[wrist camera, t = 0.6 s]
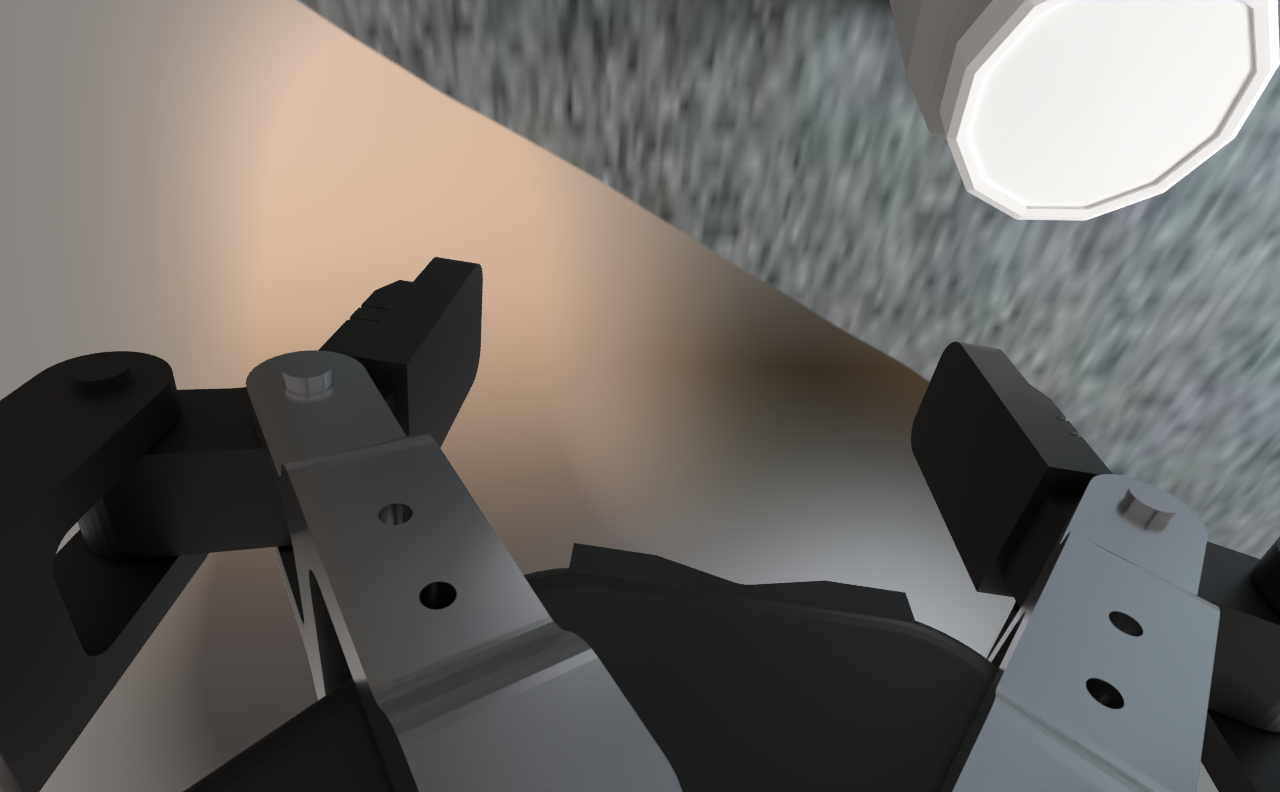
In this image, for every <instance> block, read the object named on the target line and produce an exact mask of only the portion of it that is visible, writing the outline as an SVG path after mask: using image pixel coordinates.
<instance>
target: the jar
mask: <svg viewBox="0 0 1280 792" xmlns="http://www.w3.org/2000/svg"><path fill="white" fill-rule="evenodd" d="M889 2H890V6H891V10H892V14H893V19H894V23H895V27H896V31H897V36H898V40H899V44H900V48H901V53H902V57H903V61H904V65H905V70H906V74H907V77H908V79H909V82H910V84H911V87H912V89H913V92H914V94H915V97H916V99H917V102H918V104H919V107H920V109H921V112H922V114H923V117H924V120H925V122H926V125H927V127H928V130H929V132H931V133H933V134H934V135H936V136H938V137H939V138H941V139H943V140H944V141H946V142H948V144H949V146H950V149H951V152H952V154H953V157H954V159H955V162H956V165H957V167H958V170H959V173H960V175H961V178H962V180H963V183H964V186H965V188H966V191H967V192H969V193H971V194H973V195H974V196H976V197H978V198H980V199H981V200H983V201H985V202H987V203H988V204H990V205H992V206H994V207H995V208H997V209H999V210H1001V211H1002V212H1004V213H1006V214H1008V215H1009V216H1011V217H1013V218H1015V219H1019V220H1088V219H1091V218H1094V217H1097V216H1100V215H1103V214H1105V213H1108V212H1111V211H1114V210H1117V209H1119V208H1122V207H1125V206H1128V205H1131V204H1133V203H1136V202H1139V201H1142V200H1145V199H1147V198H1150V197H1153V196H1156V195H1159V194H1161V193H1164V192H1165V191H1166V190H1168V189H1169V188H1170V187H1172V186H1173V185H1174V184H1175V183H1177V182H1178V181H1179V180H1181V179H1182V178H1183V177H1185V176H1186V175H1187V174H1188V173H1190V172H1191V171H1192V170H1194V169H1195V168H1196V167H1198V166H1199V165H1200V164H1201V163H1203V162H1204V161H1205V160H1207V159H1208V158H1209V157H1211V156H1212V155H1213V154H1214V153H1216V152H1217V151H1218V150H1220V149H1221V148H1222V147H1224V146H1225V145H1226V144H1227V143H1229V142H1230V141H1231V140H1233V139H1234V138H1235V137H1236V135H1237V133H1238V132H1239V130H1240V128H1241V127H1242V125H1243V123H1244V122H1245V120H1246V119H1247V117H1248V115H1249V114H1250V112H1251V110H1252V109H1253V107H1254V105H1255V104H1256V102H1257V100H1258V99H1259V97H1260V96H1261V94H1262V92H1263V91H1264V89H1265V87H1266V86H1267V84H1268V82H1269V81H1270V79H1271V78H1272V76H1273V74H1274V73H1275V71H1276V69H1277V68H1278V66H1279V64H1280V58H1279V27H1278V0H889Z"/></svg>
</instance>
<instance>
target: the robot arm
mask: <svg viewBox="0 0 1280 792" xmlns="http://www.w3.org/2000/svg"><path fill="white" fill-rule="evenodd" d="M482 276H483V275H482V268H481V265H480V264H476V263H470V262H463V261H457V260H451V259H445V258H439V257H435V258H434V259H432V261H431V262H430V263H429V264H428V265H427V266H426V268H425V269H424V270H423V271H422V273H420V275H419V276H418V277H417V278H416V279H415V281H414V282H409V281H402V280H399V281H396V282H394V283H392V284H389V285H387V286H384V287H382V288H380V289H377V290H375V291H374V292H373V293H372V294H371V295H370V297H369V298H368V299H367V300H366V301H365V302H364V303H363V304H362V306H361V308H358V309H357V310H356V311H355V312H354V313H353V314H352V316H351V317H350V320H347V321H346V322H345V323H344V324H343V325H342V326H341V327H340V328H339V329H338V330H337V331H336V332H335V333H334V334H333V335H332V336H331V338H330V339H329V340H328V341H327V342H326V343H325V344H324V345H323V346H322V347H321V348H320V349H319V350H318V351H299V352H292V353H287V354H283V355H280V356H276V357H273V358H271V359H268V360H266V361H264V362H263V363H261V364H259V365H258V366H256V367H255V368H254V369H253V370H252V371H251V372H250V373H249V375H248V377H247V379H246V387H244V388H231V389H195V390H177V389H176V385H175V381H174V376H173V372H172V369H171V367H170V365H169V364H168V363H167V362H166V361H164V360H163V359H161V358H159V357H156V356H153V355H150V354H145V353H139V352H128V351H121V352H120V351H117V352H102V353H95V354H89V355H84V356H80V357H76V358H73V359H69V360H66V361H64V362H61V363H58V364H56V365H53V366H51V367H49V368H47V369H46V370H44V371H42V372H41V373H39V374H38V375H36V376H35V377H33V378H32V379H30V380H29V381H28V382H26V383H25V384H23V385H22V386H21V387H19V388H18V389H16V390H15V391H13V392H12V393H11V394H9V395H8V396H6V397H5V398H3V399H2V400H1V401H0V792H39V791H40V790H41V789H42V787H43V786H44V784H45V783H46V782H47V780H48V779H49V777H50V776H51V774H52V773H53V772H54V770H55V769H56V767H57V766H58V765H59V763H60V762H61V760H62V759H63V758H64V756H65V755H66V754H67V752H68V751H69V749H70V748H71V746H72V745H73V744H74V742H75V741H76V739H77V738H78V737H79V735H80V734H81V733H82V731H83V730H84V728H85V727H86V725H87V724H88V723H89V721H90V720H91V718H92V717H93V716H94V714H95V713H96V711H97V710H98V709H99V707H100V706H101V704H102V703H103V701H104V700H105V699H106V697H107V696H108V695H109V693H110V692H111V690H112V689H113V688H114V686H115V685H116V683H117V682H118V681H119V679H120V678H121V676H122V675H123V674H124V672H125V671H126V669H127V668H128V667H129V665H130V664H131V662H132V661H133V660H134V658H135V656H136V655H137V654H138V653H139V651H140V650H141V648H142V647H143V645H144V644H145V643H146V641H147V640H148V639H149V637H150V636H151V634H152V633H153V632H154V630H155V629H156V627H157V626H158V625H159V623H160V622H161V620H162V619H163V617H164V616H165V614H166V613H167V612H168V610H169V609H170V608H171V606H172V605H173V603H174V602H175V601H176V599H177V598H178V597H179V595H180V594H181V592H182V591H183V589H184V588H185V587H186V585H187V584H188V582H189V581H190V580H191V578H192V577H193V575H194V574H195V573H196V571H197V570H198V568H199V567H200V566H201V564H202V563H203V561H204V560H205V559H206V557H207V555H208V554H209V553H210V552H221V551H233V550H243V549H255V548H266V547H274V548H275V554H276V557H277V560H278V563H279V566H280V570H281V572H282V576H283V579H284V582H285V585H286V588H287V591H288V594H289V598H290V601H291V604H292V607H293V610H294V613H295V616H296V619H297V622H298V626H299V628H300V632H301V635H302V638H303V641H304V644H305V648H306V651H307V654H308V658H309V662H310V666H311V670H312V675H313V680H314V684H315V688H316V693H317V697H318V701H317V702H315V703H314V704H312V705H311V706H309V707H308V708H306V709H305V710H303V711H302V712H300V713H299V714H297V715H296V716H295V717H293V718H291V719H290V720H289V721H287V722H286V723H284V724H283V725H281V726H280V727H278V728H277V729H275V730H274V731H272V732H271V733H269V734H268V735H266V736H265V737H264V738H262V739H260V740H259V741H257V742H256V743H254V744H253V745H251V746H250V747H248V748H247V749H246V750H244V751H243V752H241V753H240V754H238V755H237V756H235V757H234V758H232V759H231V760H229V761H228V762H226V763H225V764H223V765H222V766H220V767H219V768H217V769H216V770H214V771H213V772H211V773H210V774H208V775H207V776H205V777H204V778H203V779H201V780H199V781H198V782H197V783H195V784H194V785H192V786H191V787H189V788H188V789H186V790H185V791H183V792H1197V784H1198V777H1199V769H1200V762H1202V764H1203V765H1204V767H1205V769H1206V770H1207V772H1208V774H1209V776H1210V777H1211V779H1212V781H1213V782H1214V784H1215V786H1216V788H1217V789H1218V791H1219V792H1280V537H1279V538H1278V540H1277V541H1276V542H1275V543H1274V544H1273V545H1272V547H1271V548H1270V549H1269V550H1268V551H1267V552H1266V554H1265V555H1264V556H1263V557H1262V558H1261V560H1260V559H1258V558H1255V557H1252V556H1249V555H1246V554H1243V553H1240V552H1237V551H1234V550H1231V549H1228V548H1225V547H1222V546H1219V545H1216V544H1213V543H1210V542H1207V538H1208V531H1207V528H1206V526H1205V524H1204V523H1203V521H1202V520H1201V519H1200V517H1199V516H1198V515H1197V514H1196V513H1195V512H1194V511H1193V510H1192V509H1190V508H1189V507H1188V506H1187V505H1185V504H1184V503H1183V502H1181V501H1180V500H1178V499H1177V498H1175V497H1174V496H1172V495H1171V494H1169V493H1167V492H1165V491H1163V490H1161V489H1159V488H1157V487H1155V486H1153V485H1151V484H1148V483H1146V482H1143V481H1140V480H1137V479H1134V478H1131V477H1127V476H1122V475H1115V474H1112V473H1111V471H1110V470H1109V469H1108V468H1107V467H1106V465H1105V464H1104V463H1103V462H1102V461H1101V459H1100V458H1099V457H1098V456H1097V455H1096V453H1095V452H1094V451H1093V450H1092V449H1091V447H1090V446H1089V445H1088V444H1087V443H1086V441H1085V440H1084V439H1083V438H1082V437H1079V436H1078V432H1077V430H1076V429H1075V428H1074V427H1073V426H1072V424H1071V423H1070V422H1069V421H1065V418H1066V417H1065V416H1064V415H1063V414H1062V412H1061V411H1060V410H1059V409H1058V408H1057V406H1056V405H1055V404H1054V403H1053V402H1052V400H1051V399H1050V398H1048V397H1047V396H1045V395H1044V394H1043V393H1041V392H1040V391H1038V390H1037V389H1036V388H1034V387H1033V386H1031V385H1030V384H1029V383H1028V382H1027V381H1026V380H1025V378H1024V377H1023V376H1022V375H1021V373H1020V372H1019V371H1018V370H1017V369H1016V367H1015V366H1014V365H1013V364H1012V362H1011V361H1010V360H1009V359H1008V357H1007V356H1006V355H1005V354H1004V352H1003V351H1002V350H1000V349H998V348H992V347H986V346H980V345H973V344H967V343H961V342H952V343H951V344H949V345H948V346H947V347H946V349H945V350H944V352H943V353H942V355H941V358H940V360H939V362H938V365H937V367H936V369H935V372H934V374H933V376H932V379H931V381H930V383H929V386H928V388H927V390H926V393H925V395H924V397H923V400H922V402H921V405H920V407H919V409H918V411H917V414H916V416H915V419H914V422H913V427H912V433H911V446H912V451H913V454H914V456H915V458H916V460H917V463H918V465H919V467H920V469H921V471H922V473H923V476H924V478H925V480H926V482H927V484H928V487H929V489H930V491H931V493H932V495H933V497H934V500H935V501H936V504H937V506H938V508H939V510H940V512H941V515H942V517H943V519H944V521H945V523H946V526H947V528H948V530H949V532H950V534H951V536H952V539H953V541H954V543H955V545H956V547H957V549H958V552H959V554H960V556H961V558H962V560H963V562H964V565H965V567H966V569H967V571H968V573H969V576H970V578H971V580H972V582H973V584H974V586H975V589H976V591H977V592H983V593H989V594H996V595H1003V596H1009V597H1014V598H1015V600H1016V601H1015V603H1014V604H1013V606H1012V608H1011V609H1010V611H1009V613H1008V614H1007V616H1006V617H1005V619H1004V621H1003V623H1002V625H1001V627H1000V629H999V630H998V632H997V634H996V636H995V638H994V640H993V642H992V644H991V646H990V648H989V650H988V651H987V653H986V655H985V657H983V656H982V655H980V654H979V653H977V652H976V651H974V650H973V649H971V648H970V647H968V646H966V645H965V644H963V643H962V642H960V641H958V640H956V639H954V638H952V637H950V636H948V635H947V634H945V633H943V632H941V631H939V630H937V629H934V628H932V627H930V626H928V625H925V624H923V623H920V622H918V621H915V619H914V617H913V614H912V611H911V608H910V605H909V602H908V599H907V597H906V593H903V592H897V591H890V590H883V589H877V588H870V587H863V586H856V585H850V584H843V583H837V582H830V581H811V582H793V583H777V584H776V583H775V584H758V585H744V584H738V583H734V582H731V581H728V580H725V579H723V578H720V577H717V576H713V575H711V574H708V573H705V572H703V571H699V570H697V569H694V568H691V567H688V566H685V565H682V564H680V563H677V562H674V561H671V560H668V559H665V558H662V557H659V556H657V555H650V554H643V553H636V552H630V551H623V550H617V549H610V548H603V547H597V546H590V545H583V544H577V543H574V546H573V551H572V556H571V562H570V566H569V568H558V569H550V570H544V571H538V572H533V573H529V574H526V575H523V574H522V573H521V571H520V570H519V568H518V566H517V565H516V563H515V562H514V560H513V559H512V557H511V556H510V554H509V553H508V551H507V550H506V548H505V547H504V545H503V544H502V542H501V540H500V539H499V538H498V536H497V535H496V533H495V531H494V530H493V528H492V527H491V525H490V524H489V522H488V521H487V519H486V518H485V516H484V514H483V513H482V512H481V510H480V508H479V507H478V505H477V504H476V502H475V501H474V499H473V498H472V496H471V495H470V493H469V492H468V490H467V488H466V487H465V485H464V484H463V482H462V481H461V479H460V478H459V476H458V475H457V473H456V472H455V470H454V469H453V467H452V465H451V464H450V462H449V461H448V459H447V458H446V456H445V455H444V453H443V452H442V450H441V449H440V447H441V445H442V444H443V442H444V440H445V438H446V436H447V433H448V431H449V430H450V428H451V426H452V424H453V422H454V420H455V418H456V416H457V414H458V412H459V410H460V408H461V406H462V404H463V402H464V400H465V398H466V396H467V394H468V392H469V390H470V388H471V387H472V384H473V382H474V380H475V377H476V373H477V369H478V364H479V358H480V347H481V318H482V317H481V316H482V285H483V284H482V283H483V278H482ZM76 522H78V524H79V527H80V530H79V531H78V532H77V533H76V534H75V535H74V536H73V537H72V538H71V539H70V540H69V541H68V543H67V544H66V545H65V546H64V547H63V548H62V549H61V550H60V551H59V552H58V553H57V554H56V552H57V549H58V546H59V545H60V543H61V541H62V539H63V538H64V536H65V535H66V533H67V532H68V531H69V530H70V529H71V528H72V527H73V526H74V525H75V524H76Z"/></svg>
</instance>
